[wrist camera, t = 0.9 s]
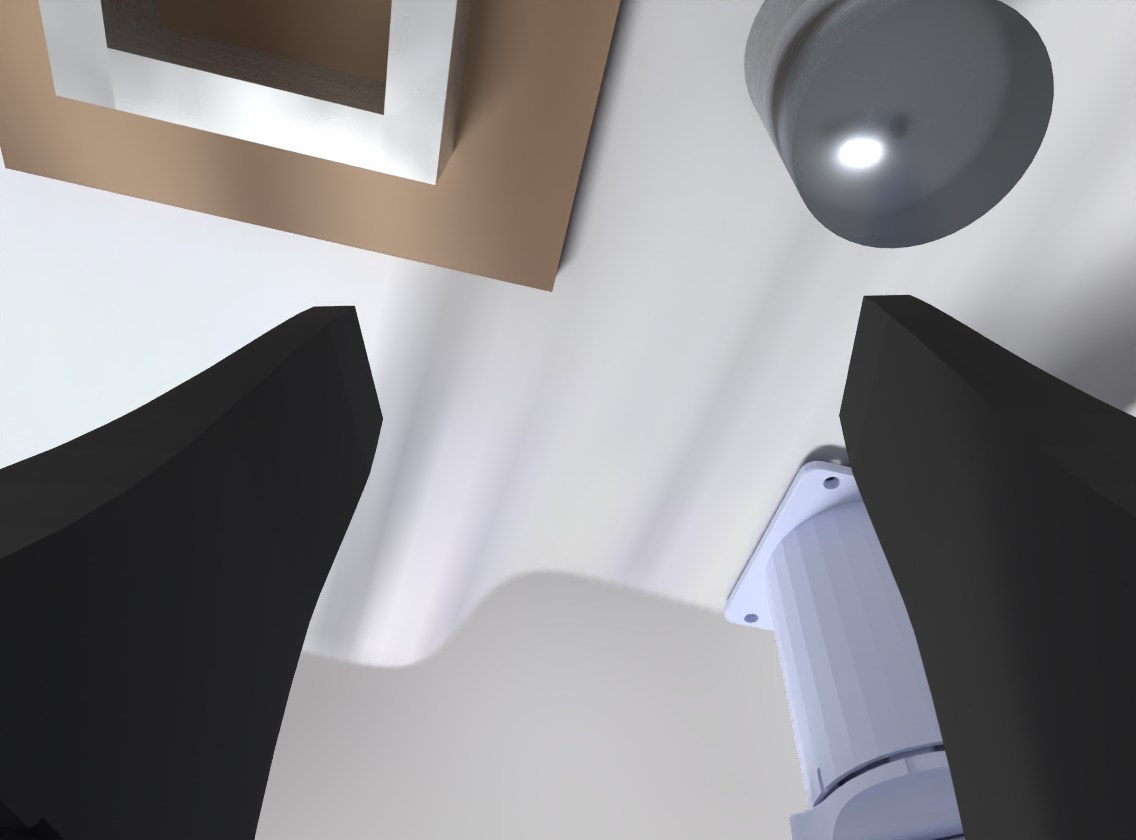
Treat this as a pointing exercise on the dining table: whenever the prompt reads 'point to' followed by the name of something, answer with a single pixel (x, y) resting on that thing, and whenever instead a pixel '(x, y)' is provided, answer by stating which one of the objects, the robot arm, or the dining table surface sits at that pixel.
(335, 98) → the socket collar
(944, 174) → the dark grey cylinder
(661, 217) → the dining table surface
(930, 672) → the robot arm
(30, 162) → the dock board
